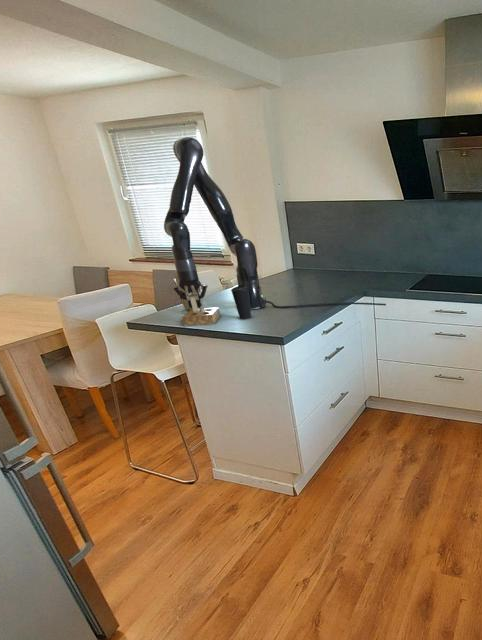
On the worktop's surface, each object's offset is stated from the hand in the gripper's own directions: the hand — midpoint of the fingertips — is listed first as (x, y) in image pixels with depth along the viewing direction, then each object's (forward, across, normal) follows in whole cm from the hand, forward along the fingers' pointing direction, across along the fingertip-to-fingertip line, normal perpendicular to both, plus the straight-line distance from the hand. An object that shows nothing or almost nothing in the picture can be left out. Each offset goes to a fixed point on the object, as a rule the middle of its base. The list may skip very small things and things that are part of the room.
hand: (196, 307), depth 171 cm
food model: (+6, -7, +17) cm, 19 cm away
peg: (+4, 0, 0) cm, 4 cm away
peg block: (+5, +2, -2) cm, 6 cm away
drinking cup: (+6, +20, -3) cm, 21 cm away
